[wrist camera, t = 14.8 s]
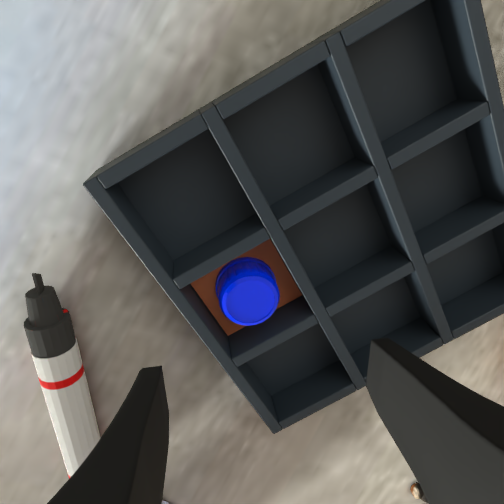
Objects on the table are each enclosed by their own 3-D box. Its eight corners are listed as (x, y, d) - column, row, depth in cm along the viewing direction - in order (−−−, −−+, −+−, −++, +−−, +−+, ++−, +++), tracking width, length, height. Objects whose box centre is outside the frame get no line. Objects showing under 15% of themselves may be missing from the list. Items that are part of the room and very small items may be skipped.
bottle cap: (236, 246, 18) (240, 261, 17) (286, 274, 19) (295, 290, 18) (203, 295, 19) (205, 314, 18) (253, 319, 20) (259, 339, 19)
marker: (117, 484, 24) (111, 516, 22) (83, 489, 24) (75, 522, 22) (64, 259, 18) (50, 278, 16) (18, 262, 18) (-1, 283, 16)
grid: (265, 400, 23) (273, 434, 21) (95, 170, 17) (81, 184, 14) (508, 271, 22) (544, 292, 20) (430, -30, 16) (471, -48, 13)
